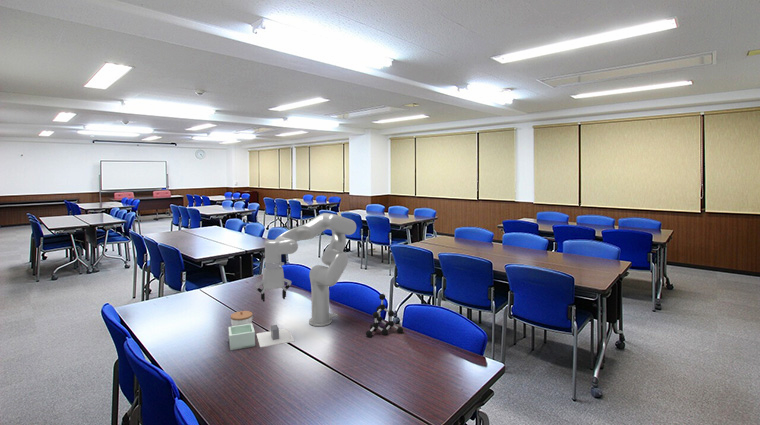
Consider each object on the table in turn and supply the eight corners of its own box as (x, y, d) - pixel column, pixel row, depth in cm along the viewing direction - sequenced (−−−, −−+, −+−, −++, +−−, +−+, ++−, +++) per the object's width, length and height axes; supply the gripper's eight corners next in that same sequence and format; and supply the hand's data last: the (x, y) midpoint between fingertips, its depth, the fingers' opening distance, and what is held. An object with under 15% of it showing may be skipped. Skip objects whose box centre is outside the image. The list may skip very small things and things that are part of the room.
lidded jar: (245, 333, 189) (245, 316, 188) (226, 332, 191) (226, 314, 190) (256, 325, 200) (256, 308, 199) (238, 323, 202) (238, 307, 201)
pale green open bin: (252, 336, 186) (252, 323, 185) (255, 346, 176) (254, 331, 175) (228, 340, 181) (228, 326, 181) (230, 350, 171) (229, 335, 171)
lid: (288, 330, 196) (288, 319, 195) (294, 342, 181) (294, 330, 181) (256, 335, 189) (255, 324, 188) (260, 348, 175) (259, 336, 174)
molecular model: (376, 322, 206) (376, 287, 204) (404, 332, 192) (405, 295, 190) (353, 332, 193) (353, 294, 191) (381, 344, 180) (381, 303, 178)
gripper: (289, 262, 188) (290, 295, 190) (253, 265, 181) (254, 299, 183) (292, 265, 182) (293, 299, 183) (255, 268, 174) (256, 304, 176)
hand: (273, 299), depth 183 cm, fingers open, 9 cm apart
